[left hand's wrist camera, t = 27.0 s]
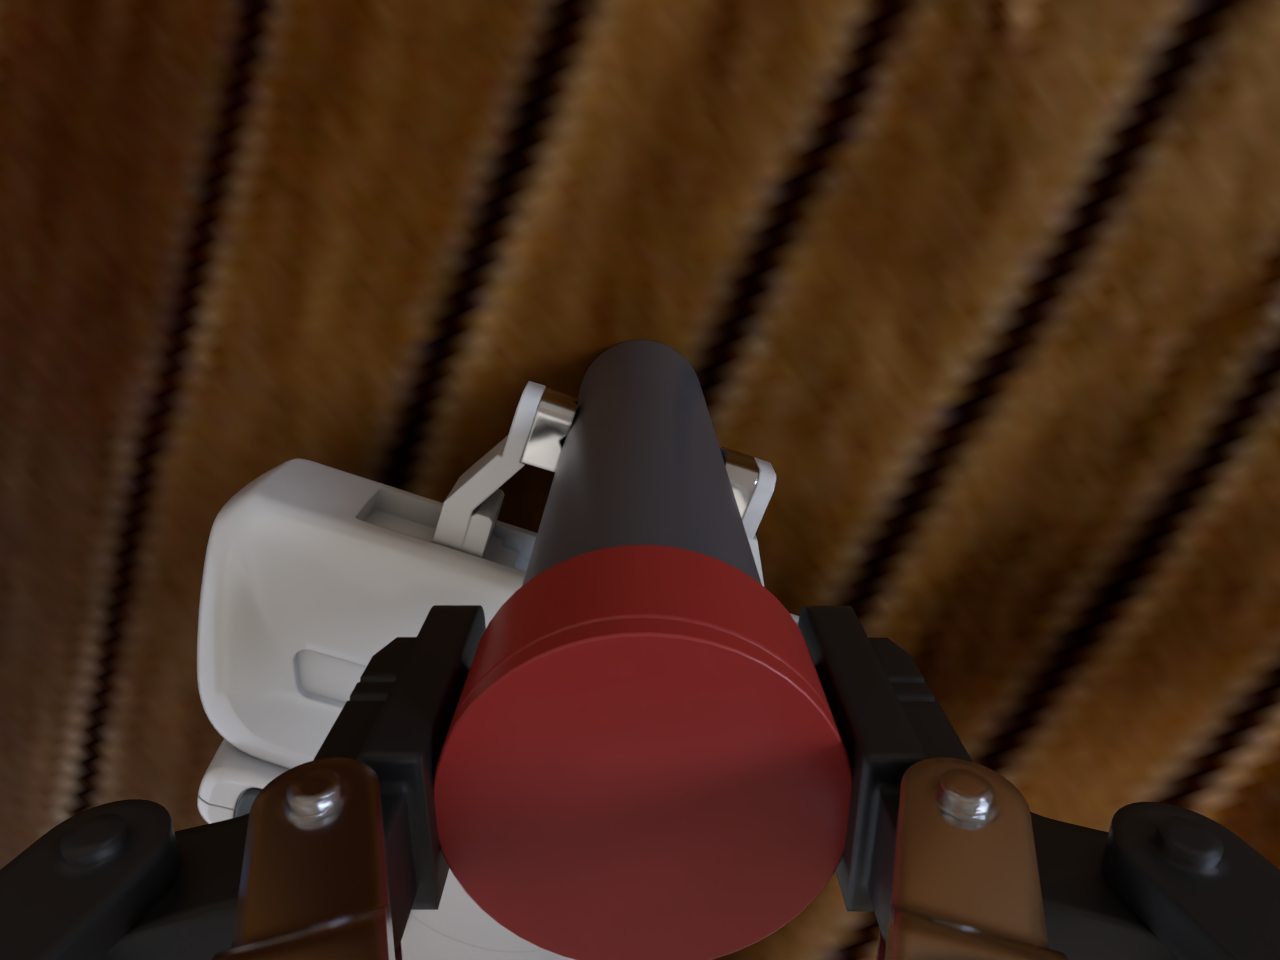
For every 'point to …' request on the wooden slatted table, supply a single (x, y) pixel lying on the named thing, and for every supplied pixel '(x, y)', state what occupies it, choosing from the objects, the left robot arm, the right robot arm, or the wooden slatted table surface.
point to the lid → (642, 762)
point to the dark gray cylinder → (641, 466)
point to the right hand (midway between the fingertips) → (651, 426)
